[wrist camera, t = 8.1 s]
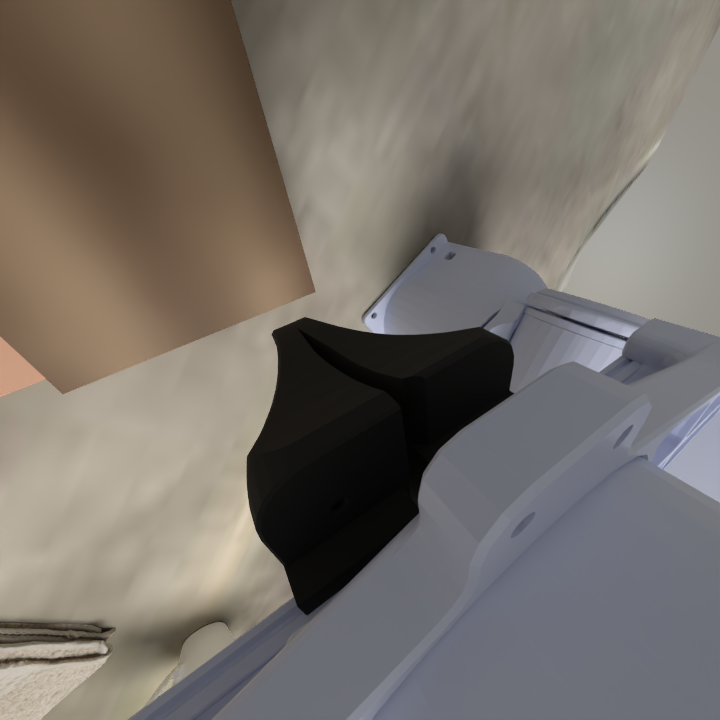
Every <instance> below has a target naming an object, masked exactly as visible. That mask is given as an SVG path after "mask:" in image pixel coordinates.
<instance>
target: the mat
mask: <svg viewBox="0 0 720 720" xmlns="http://www.w3.org/2000/svg"><path fill="white" fill-rule="evenodd" d="M45 379H46V378H45V377H44V376H43V375H42V374H40V373H39V372H38V371H37V370H36V369H35V368H34V367H33V366H32V365H31V364H30V363H28V362H27V361H26V360H25V359H24V358H23V357H22V356H21V355H20V354H19V353H18V352H17V351H15V350H14V349H13V348H12V347H11V346H10V345H9V344H8V343H7V342H6V341H5V340H4V339H2V338H1V337H0V397H1V396H4V395H6V394H9V393H12V392H14V391H17V390H19V389H22V388H24V387H27V386H30V385H32V384H35V383H37V382H40V381H43V380H45Z"/></svg>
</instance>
